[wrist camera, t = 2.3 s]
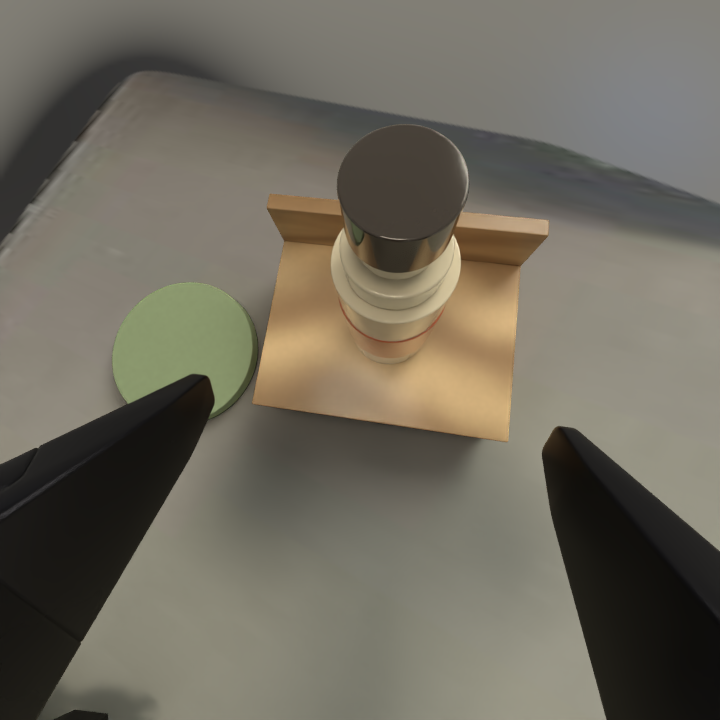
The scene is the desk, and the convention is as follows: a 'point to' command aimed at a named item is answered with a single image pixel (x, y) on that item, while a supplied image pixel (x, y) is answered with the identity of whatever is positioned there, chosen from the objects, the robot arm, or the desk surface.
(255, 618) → the desk surface
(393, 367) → the shelf
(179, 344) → the disc
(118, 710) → the desk surface
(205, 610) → the desk surface
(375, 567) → the desk surface
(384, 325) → the spice bottle
